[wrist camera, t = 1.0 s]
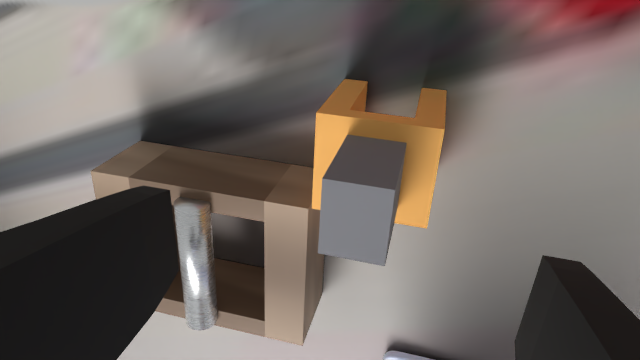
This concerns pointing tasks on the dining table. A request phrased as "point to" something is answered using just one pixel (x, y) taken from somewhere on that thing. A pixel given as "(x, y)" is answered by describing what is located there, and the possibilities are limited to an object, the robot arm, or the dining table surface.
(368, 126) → the orange u-shaped bracket
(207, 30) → the dining table surface
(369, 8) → the dining table surface
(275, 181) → the rectangular frame
